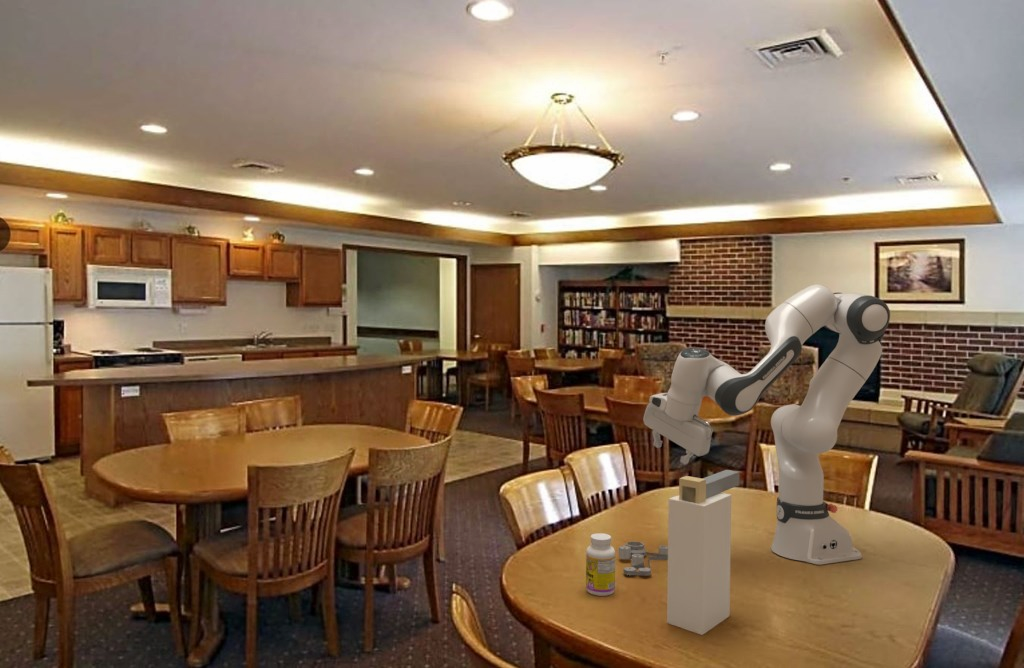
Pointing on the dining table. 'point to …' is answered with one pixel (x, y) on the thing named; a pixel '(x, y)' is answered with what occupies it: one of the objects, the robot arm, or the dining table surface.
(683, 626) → the pillar
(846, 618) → the dining table surface
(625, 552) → the pulley system
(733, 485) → the bar
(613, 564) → the supplement bottle
